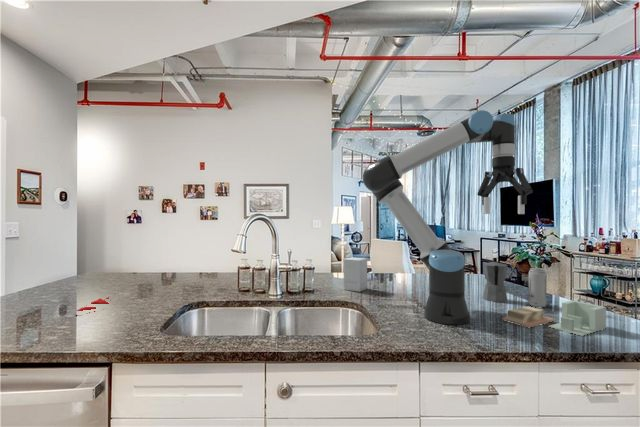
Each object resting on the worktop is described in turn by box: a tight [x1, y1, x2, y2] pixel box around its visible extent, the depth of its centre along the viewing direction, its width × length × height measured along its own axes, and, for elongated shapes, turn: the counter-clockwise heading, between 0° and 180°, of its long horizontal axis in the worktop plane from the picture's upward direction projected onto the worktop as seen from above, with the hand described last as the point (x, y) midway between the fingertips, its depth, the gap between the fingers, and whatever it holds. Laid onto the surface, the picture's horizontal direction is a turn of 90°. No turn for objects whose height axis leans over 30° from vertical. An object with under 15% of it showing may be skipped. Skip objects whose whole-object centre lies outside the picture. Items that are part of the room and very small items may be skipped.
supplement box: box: [343, 256, 368, 293], centre depth 166 cm, size 9×9×15 cm
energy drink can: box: [527, 267, 548, 308], centre depth 136 cm, size 6×6×15 cm
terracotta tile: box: [502, 315, 555, 328], centre depth 117 cm, size 14×9×1 cm, turn 118°
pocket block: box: [548, 300, 607, 337], centre depth 110 cm, size 15×9×7 cm, turn 118°
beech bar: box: [507, 305, 544, 324], centre depth 116 cm, size 12×5×3 cm, turn 118°
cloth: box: [76, 296, 110, 311], centre depth 134 cm, size 26×14×2 cm, turn 176°
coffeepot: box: [482, 257, 508, 303], centre depth 145 cm, size 15×9×18 cm, turn 156°
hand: (503, 214), depth 127 cm, fingers open, 13 cm apart
